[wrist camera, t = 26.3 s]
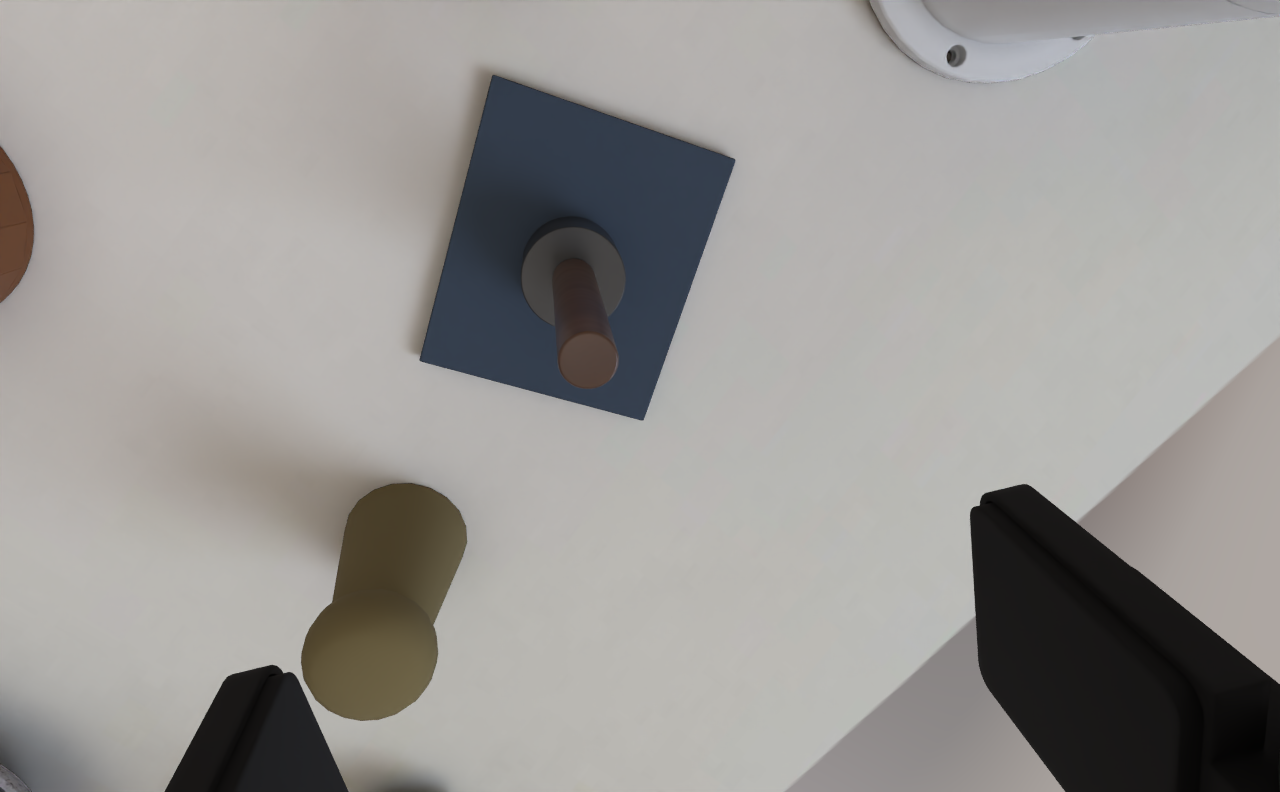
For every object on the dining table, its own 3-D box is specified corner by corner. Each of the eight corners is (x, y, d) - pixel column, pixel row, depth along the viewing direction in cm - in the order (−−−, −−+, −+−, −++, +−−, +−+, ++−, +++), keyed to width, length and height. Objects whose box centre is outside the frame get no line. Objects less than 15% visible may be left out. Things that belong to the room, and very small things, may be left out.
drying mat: (493, 74, 34) (492, 74, 34) (733, 158, 37) (736, 159, 36) (420, 357, 38) (419, 361, 38) (642, 416, 40) (643, 421, 40)
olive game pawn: (319, 540, 41) (244, 690, 31) (399, 460, 40) (350, 588, 30) (413, 607, 43) (372, 770, 33) (491, 533, 42) (476, 677, 32)
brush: (511, 228, 36) (495, 306, 23) (608, 206, 36) (646, 271, 23) (535, 322, 38) (533, 445, 25) (628, 300, 38) (675, 411, 25)
